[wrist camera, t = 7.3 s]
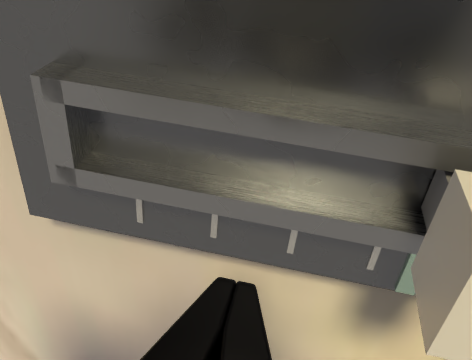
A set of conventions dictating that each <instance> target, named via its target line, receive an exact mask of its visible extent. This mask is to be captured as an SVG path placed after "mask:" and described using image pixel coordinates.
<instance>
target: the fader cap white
mask: <svg viewBox="0 0 472 360" xmlns="http://www.w3.org/2000/svg"><path fill="white" fill-rule="evenodd" d="M421 209H422V213H423V217H424V221H425V225H426V229H427V233H426V235H425V237H424V239H423V242H422V244H421V246H420V248H419V251H418V253H417V255H416V257H415V260H414V262H413V264H412V266H411V272H412V278H413V283H414V289H415V295H416V301H417V306H418V312H419V318H420V323H421V329H422V335H423V340H424V346H425V352H426V355H430V356H435V357H439V358H444V359H448V360H472V172H468V171H462V170H456V169H455V170H454V172H449V171H443V170H436V173H435V175H434V177H433V180H432V182H431V185H430V187H429V189H428V192H427V194H426V197H425V199H424V201H423V204H422V206H421Z"/></svg>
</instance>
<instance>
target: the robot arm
mask: <svg viewBox="0 0 472 360" xmlns="http://www.w3.org/2000/svg"><path fill="white" fill-rule="evenodd" d="M140 360H272V358H271V353H270V349H269V344H268V340H267V335H266V330H265V326H264V321H263V317H262V312H261V308H260V303H259V299H258V294H257V289H256V286H255V285H254V284H251V283H246V282H241V281H239V282H237V283H236V281H235V280H232V279H227V278H223V277H219V278H217V279H216V280H215V281H214V282H213V283H212V284H211V285H210V286H209V287H208V288H207V289H206V290H205V291H204V292H203V293H202V294H201V295H200V297H199V298H198V299H197V300H196V301H195V302H194V303H193V304H192V305H191V306H190V307H189V308H188V309H187V310H186V311H185V313H184V314H183V315H182V316H181V317H180V318H179V319H178V320H177V321H176V322H175V323H174V324H173V325H172V326H171V327H170V329H169V330H168V331H167V332H166V333H165V334H164V335H163V336H162V337H161V338H160V339H159V340H158V341H157V342H156V343H155V344H154V346H153V347H152V348H151V349H150V350H149V351H148V352H147V353H146V354H145V355H144V356H143V357H142V358H141V359H140Z"/></svg>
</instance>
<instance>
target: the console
mask: <svg viewBox="0 0 472 360" xmlns="http://www.w3.org/2000/svg"><path fill="white" fill-rule="evenodd" d="M0 94H1V98H2V102H3V107H4V111H5V115H6V119H7V123H8V127H9V131H10V135H11V139H12V143H13V147H14V151H15V156H16V160H17V164H18V168H19V172H20V176H21V180H22V184H23V188H24V192H25V196H26V200H27V204H28V209H29V213H30V215H35V216H40V217H44V218H49V219H54V220H59V221H64V222H68V223H73V224H78V225H83V226H88V227H92V228H97V229H102V230H107V231H111V232H116V233H121V234H126V235H131V236H135V237H140V238H145V239H150V240H154V241H159V242H164V243H169V244H174V245H178V246H183V247H188V248H193V249H198V250H202V251H207V252H212V253H217V254H221V255H226V256H231V257H236V258H241V259H245V260H250V261H255V262H260V263H264V264H269V265H274V266H279V267H284V268H288V269H293V270H298V271H303V272H308V273H312V274H317V275H322V276H327V277H331V278H336V279H341V280H346V281H351V282H355V283H360V284H365V285H370V286H374V287H379V288H384V289H389V290H394V291H395V292H399V293H404V294H409V295H415V289H414V283H413V278H412V272H411V266H412V264H413V262H414V260H415V257H416V255H417V253H418V251H419V248H420V246H421V244H422V242H423V239H424V237H425V235H426V233H427V229H426V225H425V221H424V217H423V213H422V209H421V206H422V204H423V201H424V199H425V197H426V194H427V192H428V189H429V187H430V185H431V182H432V180H433V177H434V175H435V173H436V170H443V171H449V172H454V170H455V169H456V170H462V171H468V172H472V0H0Z"/></svg>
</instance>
